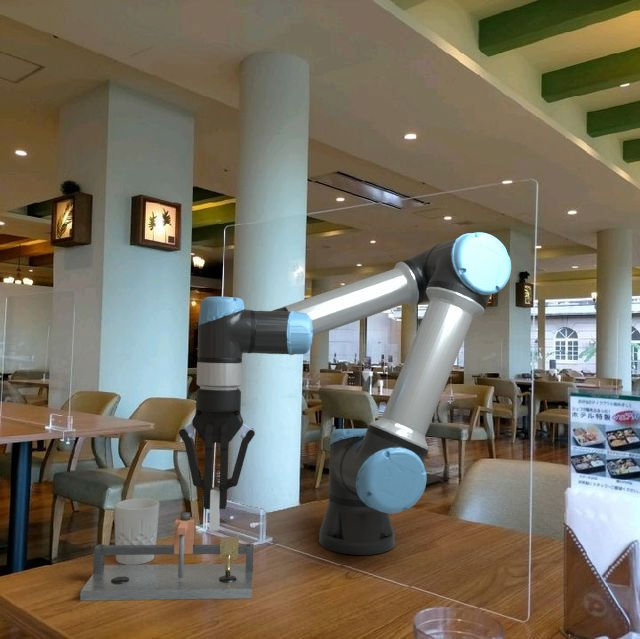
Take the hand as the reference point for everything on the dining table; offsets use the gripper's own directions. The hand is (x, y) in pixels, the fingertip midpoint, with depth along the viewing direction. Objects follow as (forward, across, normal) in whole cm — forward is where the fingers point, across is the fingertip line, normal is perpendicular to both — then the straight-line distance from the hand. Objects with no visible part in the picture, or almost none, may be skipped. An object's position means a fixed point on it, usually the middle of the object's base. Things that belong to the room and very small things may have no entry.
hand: (214, 528), depth 105 cm
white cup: (+9, +15, -11) cm, 20 cm away
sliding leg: (+7, +5, +2) cm, 8 cm away
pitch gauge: (+9, +6, +2) cm, 11 cm away
